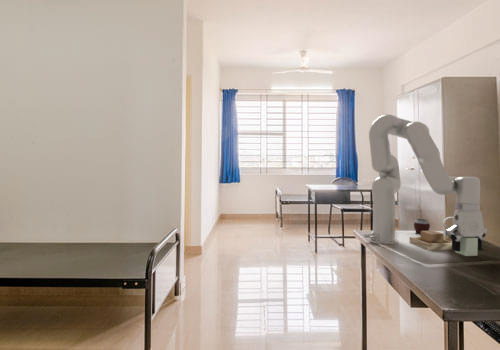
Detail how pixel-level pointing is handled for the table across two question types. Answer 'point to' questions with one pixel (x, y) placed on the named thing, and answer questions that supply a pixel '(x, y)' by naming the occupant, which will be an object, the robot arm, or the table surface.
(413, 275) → the table surface
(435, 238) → the walnut block
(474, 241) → the sage block
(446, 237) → the slot tray
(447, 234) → the watch
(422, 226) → the mate gourd
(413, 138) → the robot arm
